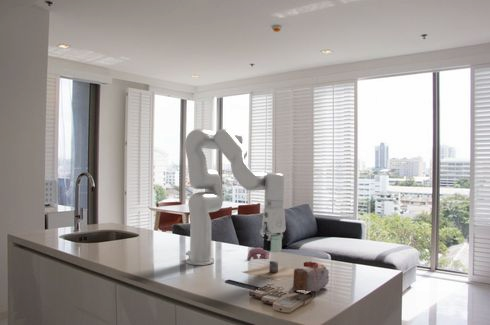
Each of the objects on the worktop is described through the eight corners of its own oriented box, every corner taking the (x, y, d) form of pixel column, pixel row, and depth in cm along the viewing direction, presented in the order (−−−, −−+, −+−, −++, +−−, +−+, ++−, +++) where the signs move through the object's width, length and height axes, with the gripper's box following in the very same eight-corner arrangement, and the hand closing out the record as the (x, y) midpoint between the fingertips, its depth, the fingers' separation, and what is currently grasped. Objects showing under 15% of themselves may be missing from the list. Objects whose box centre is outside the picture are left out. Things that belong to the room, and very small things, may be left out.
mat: (225, 282, 146) (225, 280, 146) (242, 277, 154) (242, 275, 154) (254, 290, 137) (254, 288, 137) (271, 284, 144) (271, 282, 144)
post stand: (241, 275, 156) (241, 261, 156) (269, 267, 170) (269, 254, 170) (278, 284, 144) (278, 269, 144) (305, 275, 158) (305, 261, 158)
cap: (274, 253, 153) (274, 237, 153) (260, 250, 157) (261, 234, 157) (284, 250, 158) (284, 235, 158) (271, 248, 162) (271, 233, 162)
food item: (311, 283, 147) (311, 256, 147) (330, 287, 142) (330, 260, 142) (290, 291, 136) (290, 263, 137) (310, 296, 131) (310, 266, 131)
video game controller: (269, 264, 183) (270, 249, 186) (267, 261, 179) (268, 246, 182) (248, 262, 185) (250, 248, 189) (246, 260, 181) (248, 245, 185)
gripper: (268, 206, 149) (266, 253, 148) (294, 203, 162) (292, 247, 161) (252, 204, 154) (251, 250, 153) (279, 202, 167) (278, 244, 166)
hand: (272, 248), depth 157 cm, fingers closed on cap, 6 cm apart
